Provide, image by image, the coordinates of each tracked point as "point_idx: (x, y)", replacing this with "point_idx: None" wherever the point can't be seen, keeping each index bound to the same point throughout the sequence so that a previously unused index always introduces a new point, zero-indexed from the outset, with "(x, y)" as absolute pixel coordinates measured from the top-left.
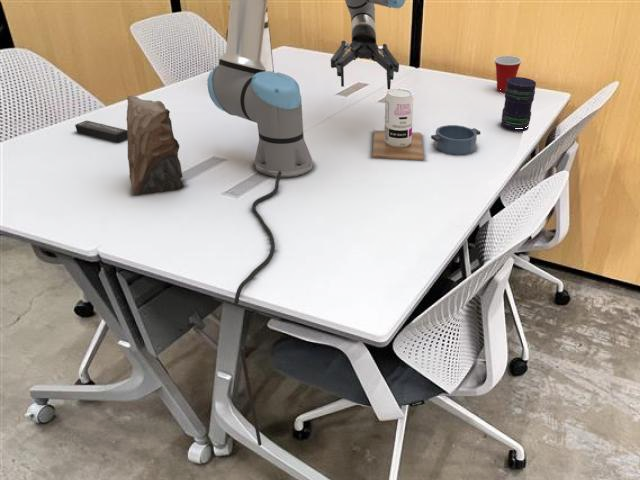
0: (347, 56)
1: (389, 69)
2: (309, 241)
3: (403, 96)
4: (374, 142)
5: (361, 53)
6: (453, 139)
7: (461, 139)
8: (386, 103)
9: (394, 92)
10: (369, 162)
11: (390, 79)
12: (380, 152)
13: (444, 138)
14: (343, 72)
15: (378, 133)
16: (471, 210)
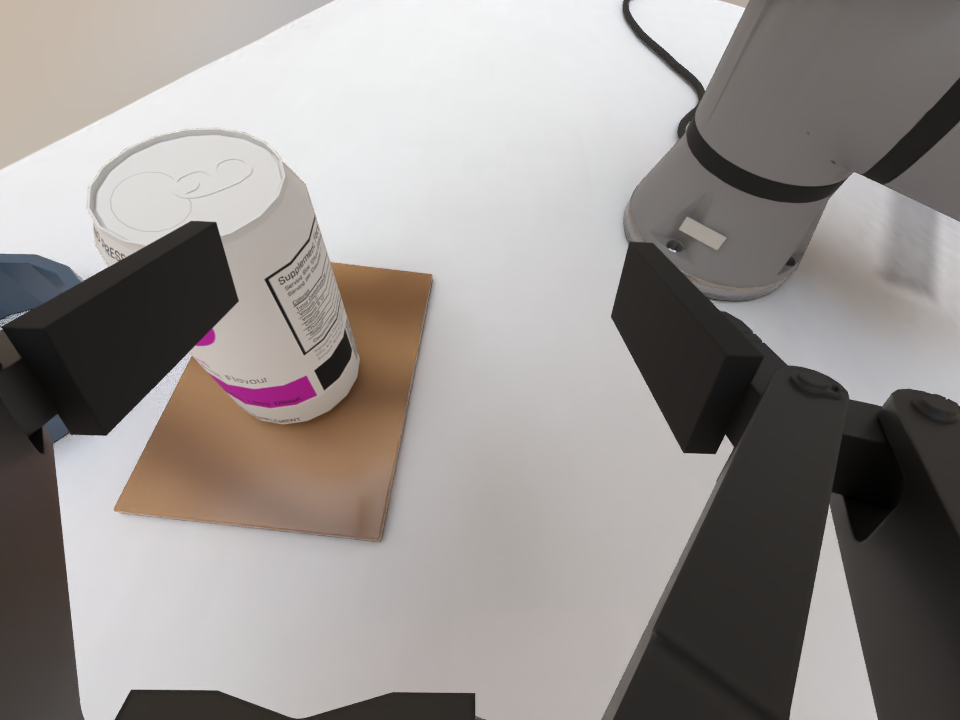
0: (743, 487)
1: (61, 297)
2: (576, 26)
3: (188, 145)
4: (405, 381)
5: (413, 709)
6: (47, 261)
7: (4, 261)
8: (315, 216)
9: (220, 203)
10: (447, 252)
11: (171, 233)
12: (398, 293)
13: (81, 281)
14: (660, 274)
15: (365, 490)
16: (246, 56)
